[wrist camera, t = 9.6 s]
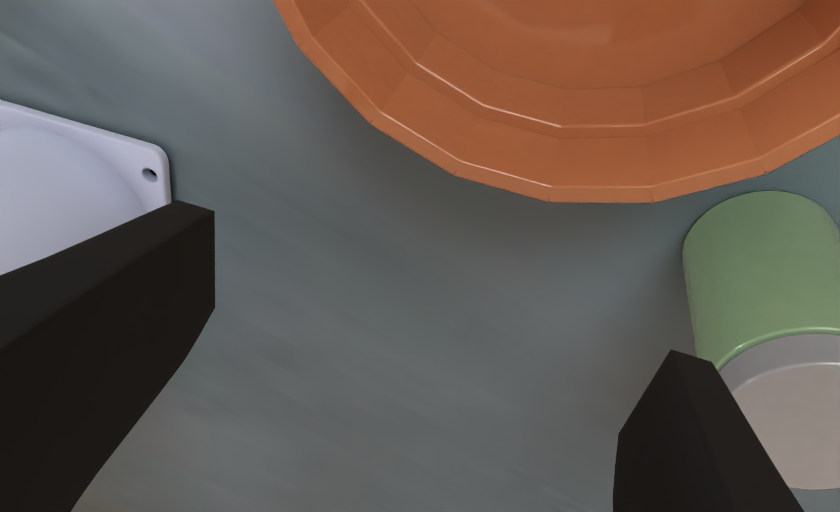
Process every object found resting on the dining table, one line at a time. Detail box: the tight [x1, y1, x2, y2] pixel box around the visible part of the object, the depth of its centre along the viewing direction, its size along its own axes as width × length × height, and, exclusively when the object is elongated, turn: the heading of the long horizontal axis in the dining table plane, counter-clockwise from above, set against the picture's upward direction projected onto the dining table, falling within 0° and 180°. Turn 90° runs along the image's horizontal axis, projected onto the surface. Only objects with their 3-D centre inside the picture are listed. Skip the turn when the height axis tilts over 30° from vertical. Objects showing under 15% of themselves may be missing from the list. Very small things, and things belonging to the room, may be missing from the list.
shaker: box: [682, 191, 840, 490], centre depth 16 cm, size 4×4×6 cm
